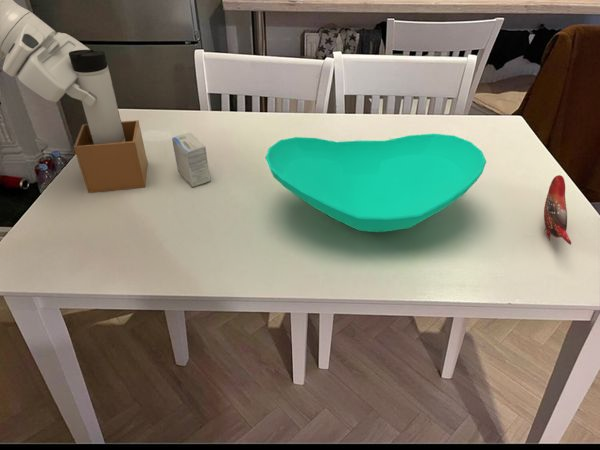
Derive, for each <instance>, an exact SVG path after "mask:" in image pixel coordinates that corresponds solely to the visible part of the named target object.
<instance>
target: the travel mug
mask: <svg viewBox="0 0 600 450" xmlns="http://www.w3.org/2000/svg"><path fill="white" fill-rule="evenodd" d="M69 57H70V60H71V64H72V67H73V69H74V71H75V73H76V74H77V75H78V78H77V79H76V82H75V83H76V84H77V85H78V86H79V88H80V89H82V90H84V91H86V92H89V91H90V92H91V93H92V94H93V95H95V96H96V97H97V99H96V101H95V102H94V103H93V105H92V106H89V105H88V104H86V103H85V102H83V101H81V103H82V107H83V111H84V115H85V118H86V122H87V124H88V125H89V129H90V132H91V136H92V140H93V142H94V144H107V143H119V142H126V140H125V136H124V132H123V128H122V123H121V122H122V120H121V119H122V118H121V116H120V111H119V107H118V103H117V98H116V95H115V89H114V86H113V85H114V84H113V81H112V77H111V73H110V70H109V65H108V61H107V58H106V53H105V51H104V50H103V51H102V50H100V51H99V50H94V49H90V50H76V51H71V52H69Z"/></svg>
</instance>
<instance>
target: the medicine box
mask: <svg viewBox="0 0 600 450" xmlns="http://www.w3.org/2000/svg"><path fill="white" fill-rule="evenodd" d="M171 140H172V146H173V152H174V156H175V163H176V169H177V173H179V174H180V175H181V176H182V178H184V180H185V181H186V182H187V183H188V184H189V185H190V186H191V187H192V188H194V187H197V186H202V185H203V184H207V183H210V182H211V175H210V167H209V161H208V154H207V148H206V145H204V144H203V143H202V142H201V141H200V140H199V139H198V138H197V137H195V135H194V134H192V133H191V132H188V133H183V134H180V135H176V136H174V137H173V136H172V138H171Z"/></svg>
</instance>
